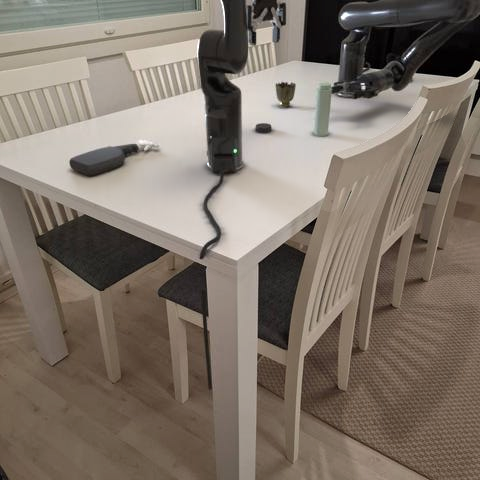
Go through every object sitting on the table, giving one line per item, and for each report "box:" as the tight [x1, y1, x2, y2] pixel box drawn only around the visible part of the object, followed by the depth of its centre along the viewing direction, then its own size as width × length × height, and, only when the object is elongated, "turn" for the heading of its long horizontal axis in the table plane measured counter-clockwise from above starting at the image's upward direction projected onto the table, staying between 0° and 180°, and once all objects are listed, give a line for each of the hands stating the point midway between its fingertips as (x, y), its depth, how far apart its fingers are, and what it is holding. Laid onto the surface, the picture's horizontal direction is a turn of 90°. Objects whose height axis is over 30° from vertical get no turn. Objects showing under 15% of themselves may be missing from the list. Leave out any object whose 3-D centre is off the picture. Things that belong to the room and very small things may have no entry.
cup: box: [275, 81, 297, 108], centre depth 166 cm, size 8×7×8 cm
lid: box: [254, 122, 273, 134], centre depth 144 cm, size 5×5×2 cm
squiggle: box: [385, 51, 414, 81], centre depth 198 cm, size 11×10×15 cm
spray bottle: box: [68, 139, 160, 177], centre depth 124 cm, size 3×11×24 cm
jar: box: [313, 82, 333, 137], centre depth 137 cm, size 4×4×15 cm
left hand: (264, 43), depth 131 cm, fingers open, 8 cm apart
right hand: (342, 93), depth 141 cm, fingers open, 8 cm apart
